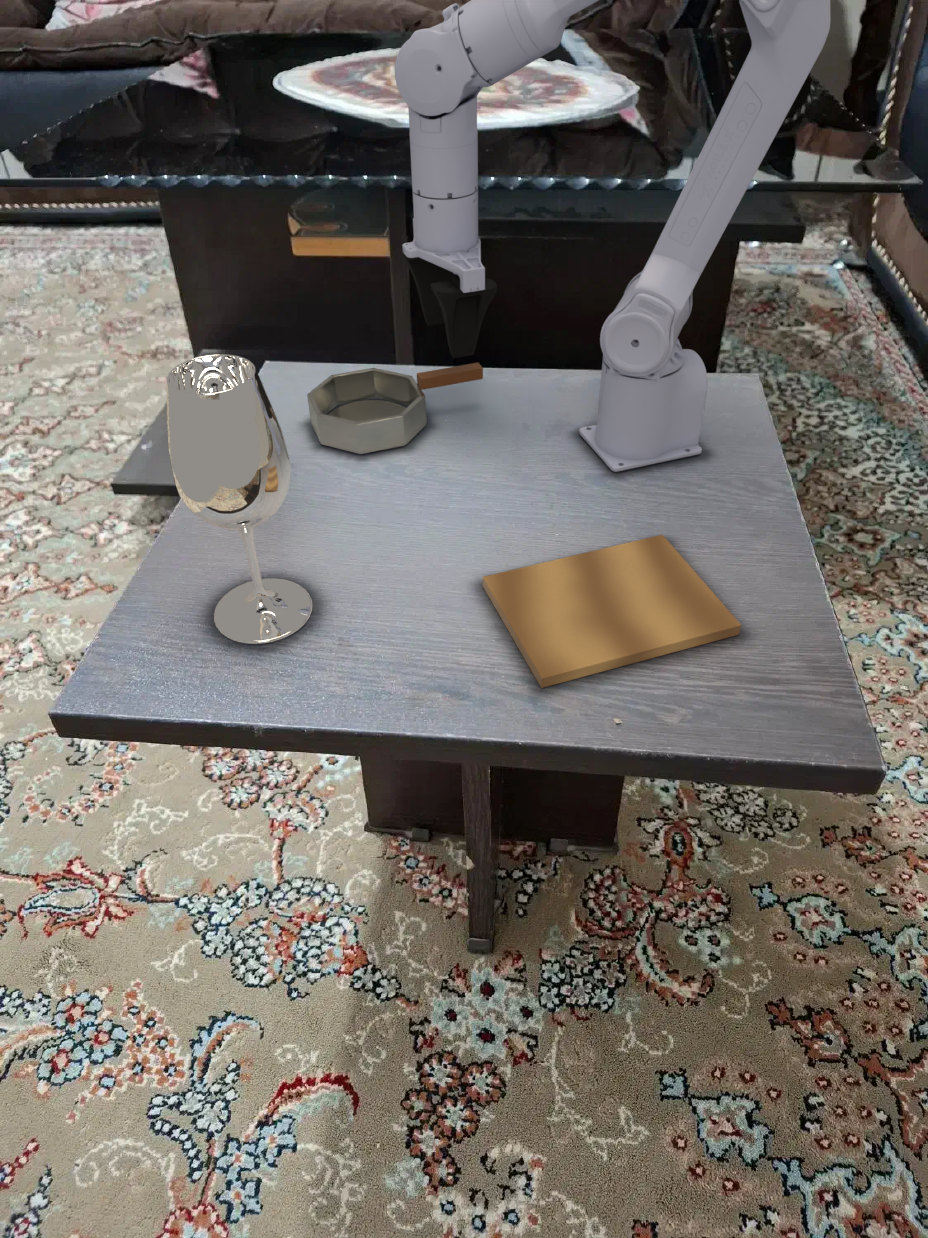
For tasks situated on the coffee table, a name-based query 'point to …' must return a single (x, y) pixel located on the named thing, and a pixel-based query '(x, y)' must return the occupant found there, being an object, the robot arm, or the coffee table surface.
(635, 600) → the cutting board
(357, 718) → the coffee table surface
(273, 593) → the wineglass
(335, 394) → the saucepan
